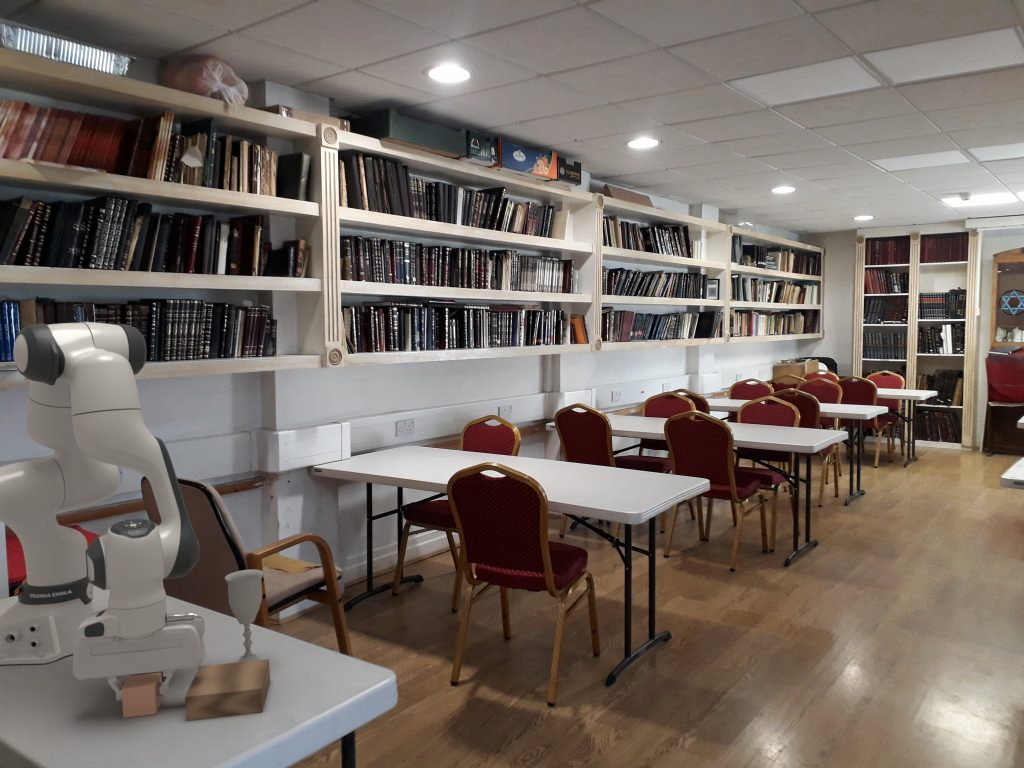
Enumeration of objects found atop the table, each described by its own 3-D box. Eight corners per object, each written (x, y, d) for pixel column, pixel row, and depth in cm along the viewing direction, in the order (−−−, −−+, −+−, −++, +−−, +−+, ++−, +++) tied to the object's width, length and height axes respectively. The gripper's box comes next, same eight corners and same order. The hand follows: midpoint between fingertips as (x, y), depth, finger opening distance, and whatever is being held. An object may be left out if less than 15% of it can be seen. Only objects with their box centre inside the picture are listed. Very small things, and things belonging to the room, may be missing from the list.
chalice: (255, 678, 142) (250, 582, 141) (221, 675, 144) (217, 580, 142) (275, 661, 149) (270, 570, 148) (243, 659, 151) (238, 568, 150)
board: (186, 720, 127) (185, 697, 127) (200, 688, 139) (199, 666, 138) (262, 711, 129) (261, 688, 129) (270, 680, 141) (269, 659, 141)
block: (123, 717, 128) (121, 688, 128) (131, 703, 133) (130, 675, 133) (155, 714, 129) (154, 685, 129) (162, 700, 134) (161, 672, 134)
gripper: (207, 605, 135) (210, 681, 136) (79, 616, 131) (84, 695, 132) (200, 618, 129) (204, 698, 130) (66, 630, 125) (71, 712, 126)
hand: (142, 696), depth 131 cm, fingers closed on block, 5 cm apart
